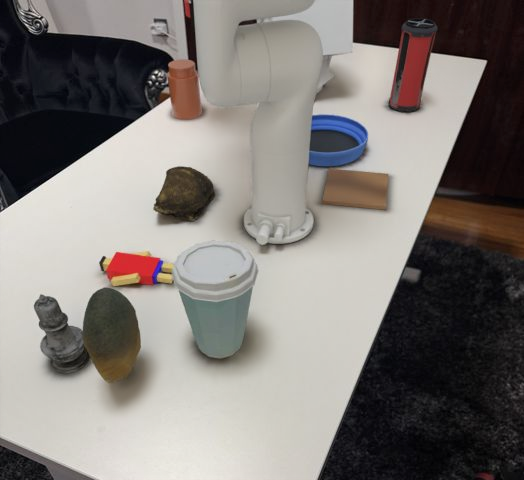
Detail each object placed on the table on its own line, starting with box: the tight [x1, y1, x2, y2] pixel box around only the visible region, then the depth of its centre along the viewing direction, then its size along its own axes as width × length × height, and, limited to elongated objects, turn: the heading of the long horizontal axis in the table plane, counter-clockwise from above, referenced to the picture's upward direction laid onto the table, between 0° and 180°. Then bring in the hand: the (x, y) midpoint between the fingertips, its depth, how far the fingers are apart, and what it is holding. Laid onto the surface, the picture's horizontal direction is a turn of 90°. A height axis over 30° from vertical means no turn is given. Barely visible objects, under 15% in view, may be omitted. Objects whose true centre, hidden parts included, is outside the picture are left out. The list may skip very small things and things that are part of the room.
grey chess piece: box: [33, 293, 91, 374], centre depth 64 cm, size 6×6×12 cm
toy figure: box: [98, 250, 174, 287], centre depth 80 cm, size 2×7×12 cm
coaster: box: [321, 168, 389, 211], centre depth 97 cm, size 12×12×1 cm
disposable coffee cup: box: [171, 239, 259, 359], centre depth 65 cm, size 11×11×15 cm
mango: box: [82, 286, 142, 384], centre depth 61 cm, size 10×6×15 cm, turn 170°
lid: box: [183, 0, 191, 19], centre depth 98 cm, size 8×8×2 cm
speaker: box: [388, 17, 438, 113], centre depth 115 cm, size 8×8×18 cm
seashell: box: [152, 165, 216, 221], centre depth 92 cm, size 16×9×7 cm, turn 160°
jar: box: [166, 58, 203, 120], centre depth 117 cm, size 7×7×11 cm
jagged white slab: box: [256, 0, 354, 95], centre depth 119 cm, size 20×16×25 cm
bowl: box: [308, 113, 369, 167], centre depth 107 cm, size 18×18×4 cm
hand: (204, 20), depth 100 cm, fingers closed on lid, 7 cm apart
